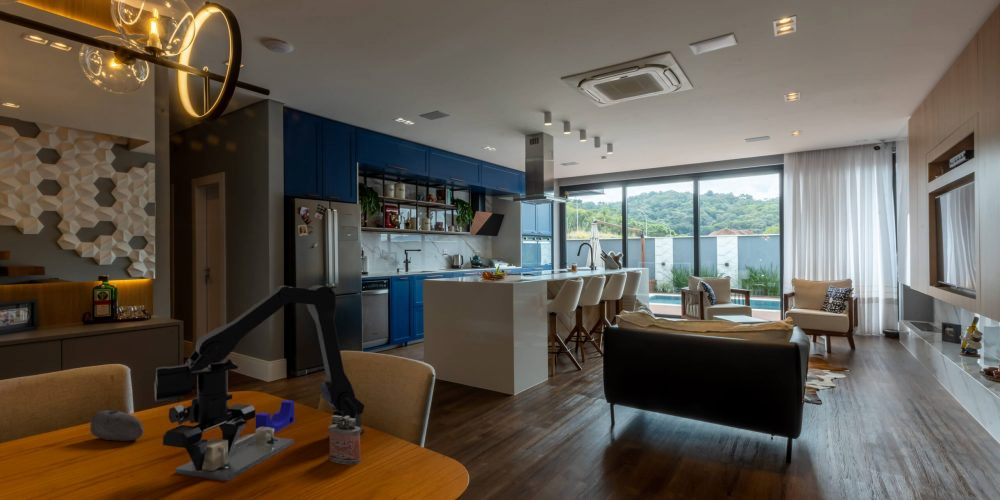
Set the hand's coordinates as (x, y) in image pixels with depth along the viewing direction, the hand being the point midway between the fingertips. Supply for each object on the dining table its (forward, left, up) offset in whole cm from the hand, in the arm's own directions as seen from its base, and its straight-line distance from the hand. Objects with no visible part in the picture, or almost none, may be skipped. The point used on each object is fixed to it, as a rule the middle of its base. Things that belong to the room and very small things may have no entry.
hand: (213, 463), depth 102 cm
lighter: (-25, -12, -2) cm, 28 cm away
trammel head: (-1, 0, -1) cm, 1 cm away
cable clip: (+5, -24, -2) cm, 25 cm away
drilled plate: (0, -7, -2) cm, 7 cm away
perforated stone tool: (+39, -8, -2) cm, 40 cm away
